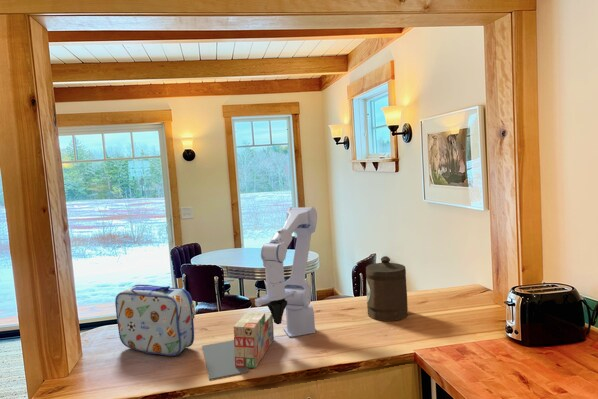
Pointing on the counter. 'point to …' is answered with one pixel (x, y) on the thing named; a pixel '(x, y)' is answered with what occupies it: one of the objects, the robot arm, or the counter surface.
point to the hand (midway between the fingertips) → (277, 323)
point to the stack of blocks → (252, 338)
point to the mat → (221, 360)
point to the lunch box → (155, 319)
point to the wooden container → (386, 290)
